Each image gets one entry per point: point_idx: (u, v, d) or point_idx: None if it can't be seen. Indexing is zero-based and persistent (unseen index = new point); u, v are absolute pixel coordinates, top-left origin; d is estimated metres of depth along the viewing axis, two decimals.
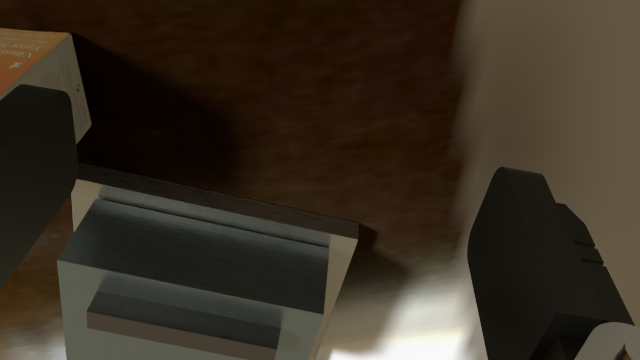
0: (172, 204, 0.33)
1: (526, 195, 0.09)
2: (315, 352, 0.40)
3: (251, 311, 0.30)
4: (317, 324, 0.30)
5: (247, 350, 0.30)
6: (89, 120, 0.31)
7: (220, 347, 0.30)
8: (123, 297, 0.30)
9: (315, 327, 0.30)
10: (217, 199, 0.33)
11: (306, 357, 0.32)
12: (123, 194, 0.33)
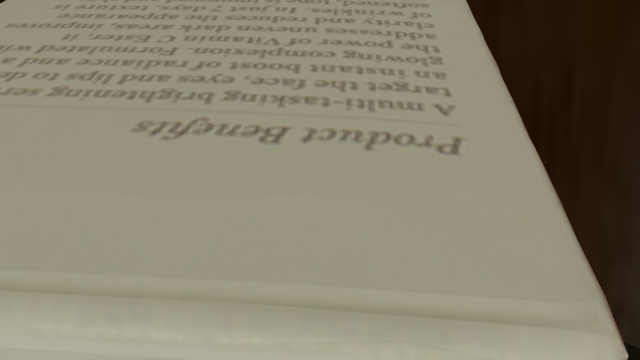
0: None
1: None
2: None
3: None
4: None
5: None
6: None
7: None
8: None
9: None
10: None
11: None
12: None
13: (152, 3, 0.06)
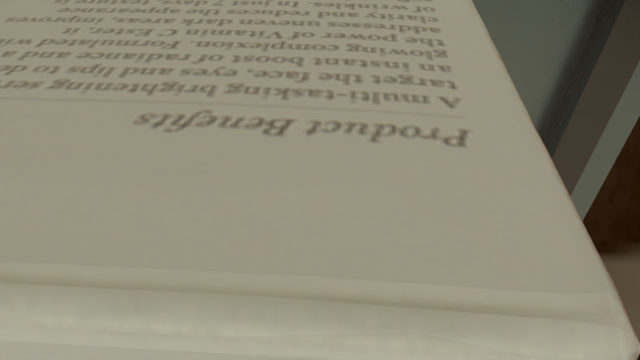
0: None
1: None
2: None
3: (590, 163, 0.24)
4: None
5: None
6: None
7: (571, 152, 0.22)
8: None
9: None
10: None
11: None
12: None
13: None
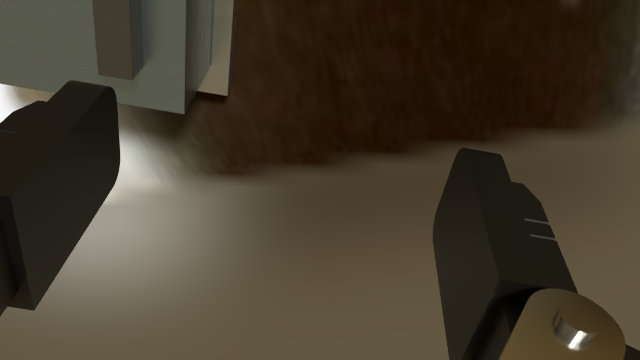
0: None
1: (482, 173, 0.10)
2: None
3: (163, 30, 0.23)
4: (164, 108, 0.25)
5: (115, 42, 0.22)
6: None
7: (109, 7, 0.21)
8: None
9: (158, 106, 0.25)
10: None
11: None
12: None
13: None
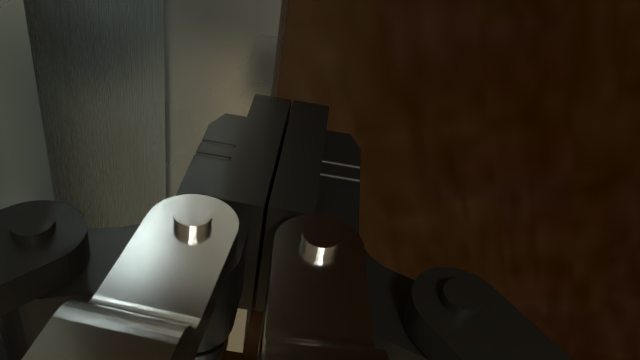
0: None
1: (300, 121, 0.10)
2: None
3: None
4: None
5: None
6: None
7: None
8: None
9: None
10: (275, 91, 0.13)
11: None
12: None
13: None
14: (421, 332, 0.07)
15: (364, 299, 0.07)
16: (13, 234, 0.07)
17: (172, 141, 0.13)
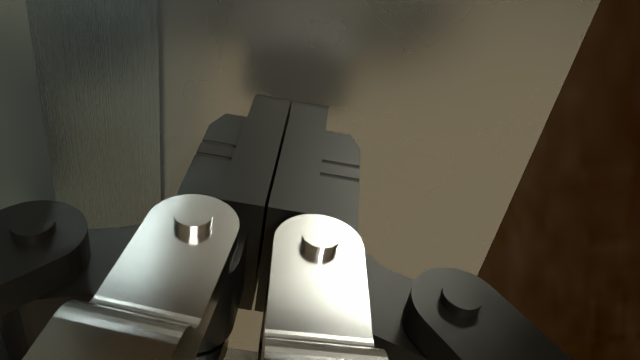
0: (561, 45, 0.11)
1: (300, 121, 0.10)
2: None
3: None
4: None
5: None
6: None
7: None
8: None
9: None
10: None
11: None
12: None
13: None
14: (421, 332, 0.07)
15: (364, 299, 0.07)
16: (13, 234, 0.07)
17: (425, 179, 0.13)
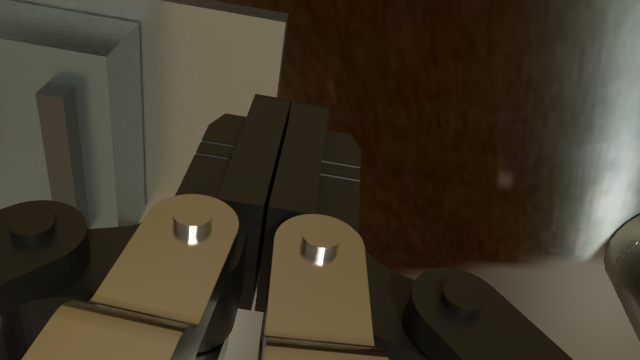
0: None
1: (300, 121, 0.10)
2: None
3: (102, 209, 0.35)
4: None
5: None
6: None
7: None
8: (75, 109, 0.31)
9: None
10: None
11: None
12: (273, 70, 0.34)
13: None
14: (421, 332, 0.07)
15: (364, 299, 0.07)
16: (13, 234, 0.07)
17: None
